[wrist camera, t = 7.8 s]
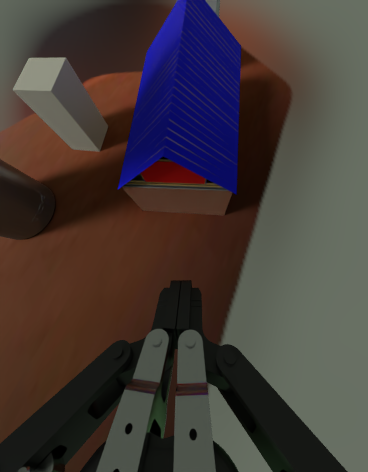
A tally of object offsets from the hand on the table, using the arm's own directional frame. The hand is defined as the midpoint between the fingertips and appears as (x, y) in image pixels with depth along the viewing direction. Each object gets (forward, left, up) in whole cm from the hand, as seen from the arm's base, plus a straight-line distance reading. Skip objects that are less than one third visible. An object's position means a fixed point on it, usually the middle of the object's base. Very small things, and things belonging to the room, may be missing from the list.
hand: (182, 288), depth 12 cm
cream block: (-20, +20, -8) cm, 30 cm away
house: (-3, +19, -8) cm, 21 cm away
